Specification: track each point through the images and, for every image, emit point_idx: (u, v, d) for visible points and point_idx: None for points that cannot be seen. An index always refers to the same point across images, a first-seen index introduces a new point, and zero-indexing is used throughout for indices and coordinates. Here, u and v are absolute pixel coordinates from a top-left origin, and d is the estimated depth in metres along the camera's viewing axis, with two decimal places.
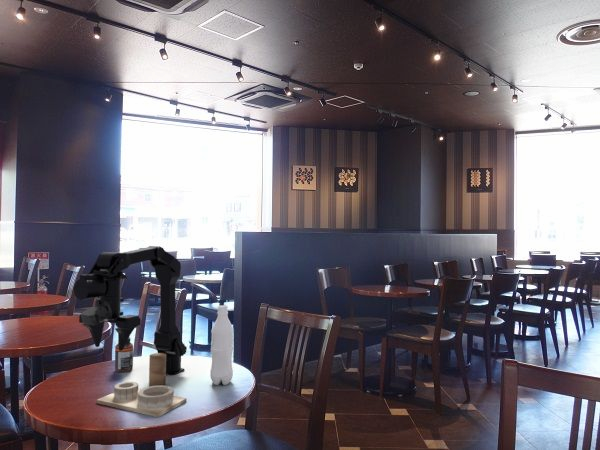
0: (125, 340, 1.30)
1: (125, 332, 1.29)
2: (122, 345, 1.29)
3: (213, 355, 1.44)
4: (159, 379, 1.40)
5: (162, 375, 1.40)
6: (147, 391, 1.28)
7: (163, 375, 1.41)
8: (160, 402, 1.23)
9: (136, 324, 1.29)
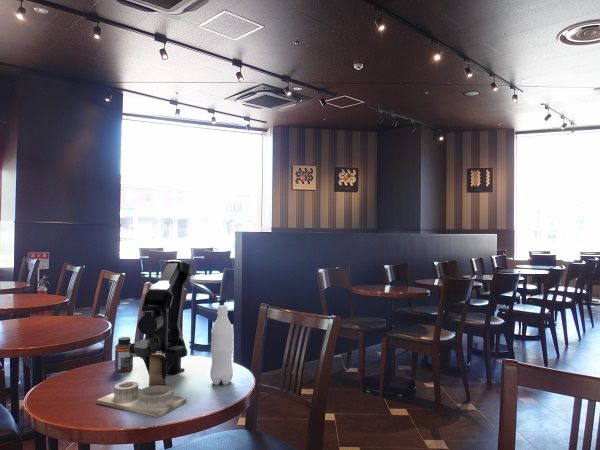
0: (168, 369, 1.41)
1: (168, 361, 1.41)
2: (165, 374, 1.40)
3: (213, 355, 1.44)
4: (159, 379, 1.40)
5: None
6: (147, 391, 1.28)
7: None
8: (160, 402, 1.23)
9: (183, 355, 1.39)
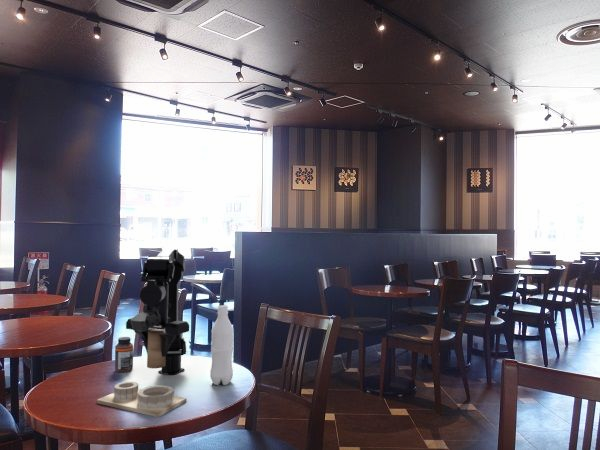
0: (168, 346, 1.28)
1: (168, 338, 1.28)
2: (165, 351, 1.27)
3: (213, 355, 1.44)
4: (159, 357, 1.27)
5: None
6: (147, 391, 1.28)
7: None
8: (160, 402, 1.23)
9: (185, 330, 1.26)
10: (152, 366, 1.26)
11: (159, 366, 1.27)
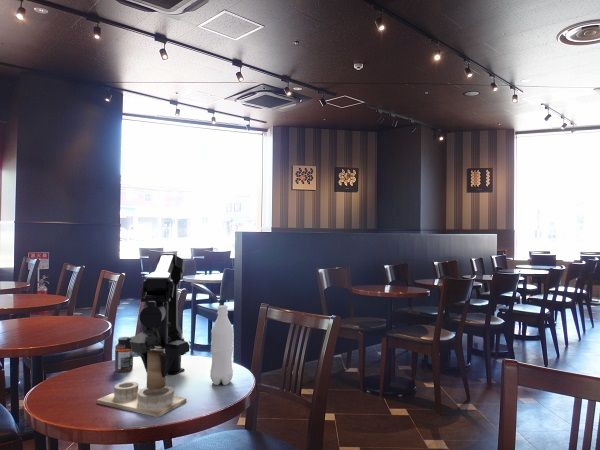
0: (168, 366, 1.26)
1: (168, 358, 1.26)
2: (165, 372, 1.25)
3: (213, 355, 1.44)
4: (159, 378, 1.25)
5: (161, 373, 1.25)
6: (147, 391, 1.28)
7: None
8: (160, 402, 1.23)
9: (185, 351, 1.24)
10: (152, 387, 1.24)
11: (159, 387, 1.25)
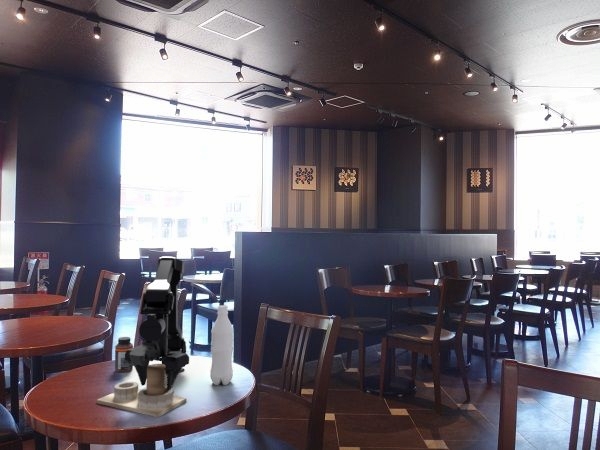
0: (173, 379, 1.25)
1: (173, 371, 1.25)
2: (170, 385, 1.24)
3: (213, 355, 1.44)
4: (158, 394, 1.25)
5: (161, 389, 1.25)
6: None
7: (162, 389, 1.26)
8: (160, 402, 1.23)
9: (185, 363, 1.24)
10: None
11: None
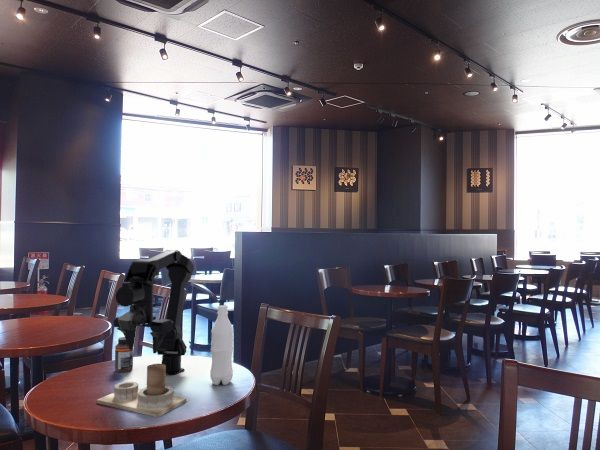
0: (159, 343, 1.37)
1: (159, 336, 1.36)
2: (156, 348, 1.36)
3: (213, 355, 1.44)
4: (158, 394, 1.25)
5: (161, 389, 1.25)
6: None
7: (162, 389, 1.26)
8: (160, 402, 1.23)
9: (169, 328, 1.36)
10: None
11: None
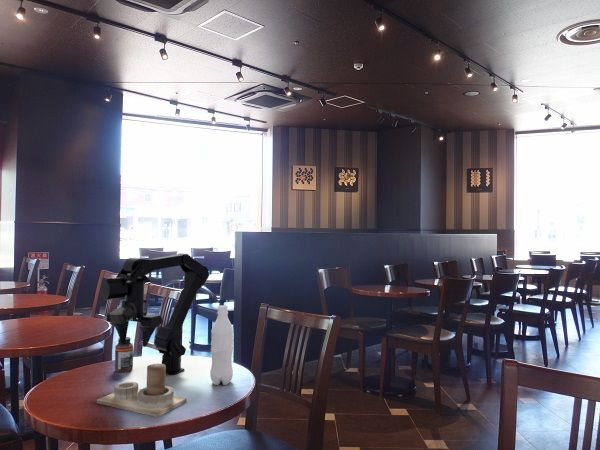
0: (148, 337, 1.44)
1: (148, 330, 1.44)
2: (145, 342, 1.44)
3: (213, 355, 1.44)
4: (158, 394, 1.25)
5: (161, 389, 1.25)
6: None
7: (162, 389, 1.26)
8: (160, 402, 1.23)
9: (158, 323, 1.43)
10: None
11: None
